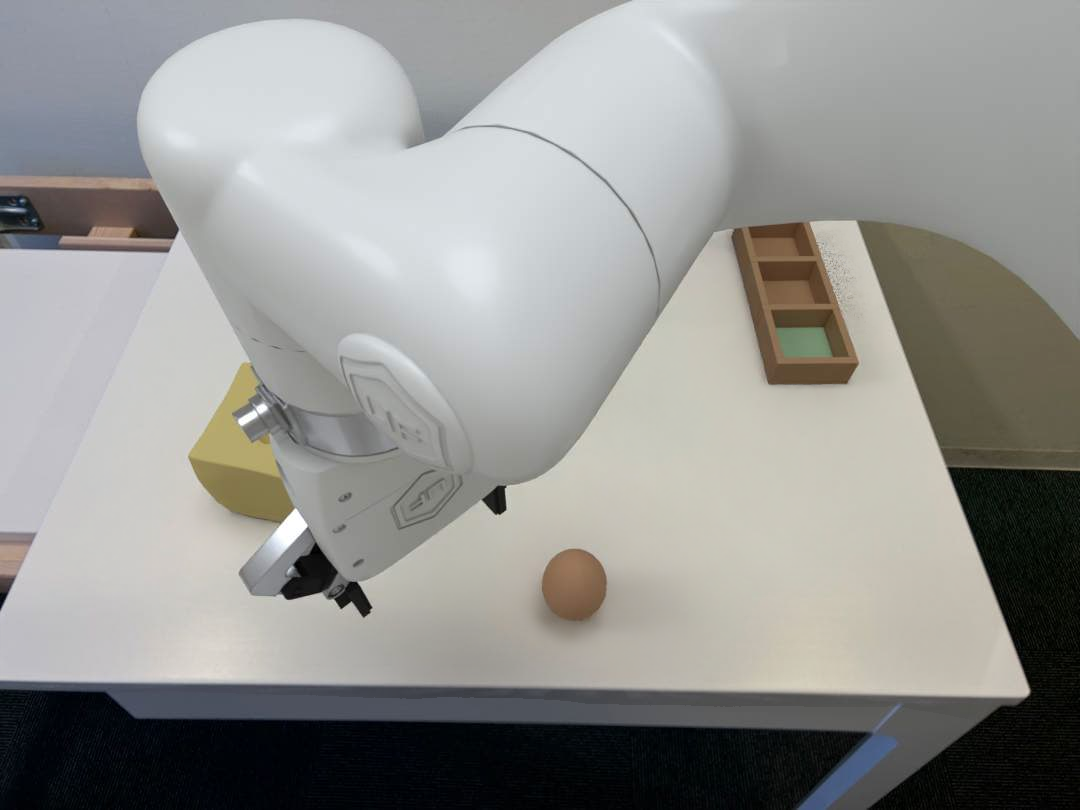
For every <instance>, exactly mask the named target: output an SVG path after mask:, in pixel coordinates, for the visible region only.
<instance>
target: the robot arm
mask: <svg viewBox="0 0 1080 810" xmlns="http://www.w3.org/2000/svg"><path fill="white" fill-rule="evenodd" d="M419 107H420V106H419V103H418V98H417V95H416V92H415V89H414V87H413V84H412V82H411V80H410V79H409V77H408V75H407V73H406V72H405V70H404V69H403V66H402V65H401V64H400V62H399V61H398V60H397V59H396V58H395V57H394V56H393V54H391V53H390V52H389V50H388V49H387V48H385V47H384V46H383V44H381V43H380V42H378V41H376V40H375V39H373V38H372V37H370V36H369V35H366V34H364V33H362V32H360V31H357V30H355V29H353V28H351V27H348V26H346V25H342V24H338V23H335V22H331V21H325V20H319V19H313V18H312V19H309V18H282V19H266V20H258V21H253V22H247V23H243V24H239V25H235V26H230V27H227V28H224V29H221V30H217V31H215V32H213V33H210V34H207V35H205V36H202V37H201V38H198V39H196V40H194V41H192V42H190V43H189V44H187V45H185V46H184V47H182V48H180V49H178V50H176V52H175V53H173V54H172V55H171V56H170V57H168V58H167V59H166V60H165V61H164V62H163V63H162V64H161V65H160V66H159V68H158V69H156V70H155V72H154V73H153V74H152V76H151V77H150V78H149V80H148V81H147V83H146V85H145V87H144V89H143V90H142V92H141V96H140V100H139V104H138V110H137V114H136V131H137V132H136V133H137V139H138V145H139V149H140V152H141V156H142V159H143V161H144V162H145V163H144V164H145V166H146V168H147V171H148V173H149V174H150V176H151V178H152V180H153V183H154V185H155V187H156V189H157V191H158V193H159V194H160V196H161V199H162V200H163V203H164V204H165V206H166V208H167V209H168V211H169V213H170V215H171V217H172V218H173V220H174V223H175V224H176V226H177V228H178V230H179V232H180V233H181V236H182V237H183V239H184V241H185V243H186V245H187V247H188V248H189V250H190V252H191V254H192V256H193V258H194V260H195V262H196V264H197V266H198V267H199V269H200V270H201V273H202V274H203V277H204V278H205V280H206V282H207V284H208V286H209V287H210V289H211V291H212V293H213V295H214V296H215V298H216V301H217V303H218V304H219V306H220V308H221V310H222V312H223V314H224V316H225V317H226V319H227V321H228V322H229V325H230V326H231V328H232V330H233V332H234V335H235V336H236V338H237V339H238V342H239V343H240V345H241V347H242V349H243V351H244V353H245V355H246V357H247V358H248V359H249V363H251V364H252V366H250V368H251V370H252V372H253V374H254V376H255V377H256V379H257V381H258V383H259V385H258V386H256V387H255V388H254V389H255V393H256V395H254V396H253V397H251V398H249V399H248V402H249V403H248V404H246V405H245V406H243V407H241V408H239V409H238V410H236V411H234V412H232V413H231V414H232V416H233V417H234V419H235V420H236V422H237V423H238V425H239V426H240V428H241V429H242V431H243V432H244V434H245V435H246V436H247V438H248V439H249V440H250V442H251V443H253V442H255V441H257V440H258V439H260V438H262V437H263V436H265V435H267V434H268V433H269V437H270V442H271V447H272V451H273V455H274V458H275V462H276V465H277V468H278V470H279V473H280V476H281V478H282V481H283V483H284V486H285V488H286V490H287V493H288V495H289V497H290V499H291V501H292V504H293V506H294V508H295V509H294V510H293V512H292V513H291V514H290V515H289V516H288V517H287V518H286V519H285V520H284V521H283V522H281V523H280V524H279V526H278V527H277V528H276V529H275V530H274V531H273V532H272V534H270V536H269V537H267V539H266V540H265V542H263V544H261V546H260V547H259V548H258V549H257V550H256V551H255V552H254V553H253V554H252V555H251V557H250V558H249V559H248V560H247V561H246V562H245V564H243V566H242V567H241V568H240V570H239V571H238V576H239V578H240V579H241V581H242V582H243V584H244V586H245V587H246V589H247V590H248V592H249V594H250V595H251V596H253V597H277V596H278V595H279V596H283V598H284V600H286V601H292V600H296V599H301V598H305V597H309V596H313V595H318V594H322V595H323V596H324V598H325V599H326V600H328V601H331V600H334V602H335V603H336V604H337V606H338V607H339V609H340V610H342V609H344V608H345V607H347V606H348V605H349V604H351V603H352V604H353V606H354V607H355V609H356V610H357V611H358V613H359V615H360V616H361V617H362V618H363V619H365V618H366V617H367V616H368V615H369V614H370V615H371V613H372V611H371V610H372V609H373V606H372V604H371V602H370V600H369V599H368V596H367V595H366V594H365V591H364V590H363V588H362V587H361V585H360V584H359V582H363V581H367V580H370V579H372V578H374V577H377V576H378V575H379V574H381V573H383V572H384V571H386V570H387V569H389V568H390V567H392V566H393V565H395V564H396V563H398V562H399V561H400V560H402V559H403V558H405V557H406V556H407V555H409V554H411V552H413V551H414V550H416V549H417V548H419V547H420V546H421V545H423V544H424V543H425V542H427V541H428V540H430V539H431V538H433V537H434V536H435V535H437V534H438V533H439V532H440V531H442V530H443V529H444V528H446V527H447V526H449V525H450V524H451V523H453V522H454V521H456V520H457V519H458V518H459V517H461V516H462V515H464V514H465V513H466V512H467V511H469V510H470V509H472V508H473V507H474V506H475V505H477V504H479V502H481V501H482V502H483V504H484V505H485V506H486V507H487V508H488V509H489V510H490V511H491V513H493V515H495V516H497V515H498V516H501V515H502V514H504V513H505V512H506V511H508V507H507V497H506V488H508V486H516V485H520V484H523V483H528V482H530V481H532V480H536V479H537V478H539V477H541V476H543V475H545V474H546V473H547V472H549V471H550V470H552V469H553V468H554V467H555V466H557V464H559V463H560V462H561V461H562V460H564V458H565V457H566V456H567V454H568V453H569V452H570V450H571V449H572V448H573V447H574V446H575V444H576V443H577V442H578V441H579V440H580V438H581V437H582V436H583V434H584V433H585V432H586V431H587V429H588V428H589V426H590V425H591V423H592V422H593V420H594V418H595V416H596V415H597V414H598V413H599V411H600V409H601V408H602V406H603V404H604V403H605V402H606V400H607V398H608V397H609V395H610V393H611V392H612V390H613V389H614V387H615V386H616V385H617V383H618V381H619V379H620V378H621V376H622V375H623V373H624V372H625V370H626V369H627V367H628V366H629V364H630V362H631V361H632V360H633V357H634V356H635V355H636V353H637V352H638V351H639V348H640V347H641V346H642V344H643V342H644V341H645V340H646V337H648V334H649V333H650V332H651V330H652V329H653V327H654V325H655V324H656V322H657V321H658V320H659V317H660V316H661V314H662V313H663V311H664V310H665V308H666V307H667V305H668V304H669V302H670V301H671V299H672V297H673V296H674V294H675V293H676V291H677V290H678V288H679V286H680V285H681V283H682V282H683V281H684V279H685V277H686V276H687V274H688V272H689V271H690V269H691V268H692V267H693V265H694V263H695V261H696V260H697V259H698V258H699V255H700V254H701V253H702V251H703V250H704V248H706V246H707V244H708V243H709V242H710V239H711V238H712V237H713V235H714V233H718V232H722V231H727V230H734V229H735V228H743V227H752V226H764V225H775V224H787V223H799V222H810V223H812V222H813V223H814V222H826V221H827V222H831V221H832V222H833V221H834V222H835V221H836V222H837V221H844V222H845V221H853V222H854V221H862V222H872V223H873V222H874V223H883V224H894V225H898V226H904V227H908V228H915V229H919V230H924V231H927V232H931V233H933V234H937V235H940V236H943V237H945V238H948V239H951V240H954V241H957V242H959V243H962V244H964V245H966V246H968V247H969V248H972V249H974V250H976V251H978V252H979V253H981V254H983V255H986V256H987V257H989V258H991V259H993V260H994V261H996V262H997V263H998V264H999V265H1001V266H1003V267H1004V268H1005V269H1007V270H1008V271H1010V272H1011V273H1013V274H1014V275H1016V277H1018V278H1019V279H1020V280H1021V281H1022V282H1024V284H1026V285H1027V286H1028V287H1029V288H1030V289H1032V291H1034V292H1035V293H1036V294H1037V295H1038V296H1039V297H1040V298H1041V299H1042V300H1043V301H1044V302H1045V303H1046V304H1047V305H1048V306H1049V307H1050V308H1051V310H1052V311H1053V312H1054V313H1055V314H1056V315H1057V316H1058V317H1059V319H1060V320H1061V322H1063V323H1064V324H1065V325H1066V327H1067V328H1068V329H1069V331H1071V333H1072V334H1073V335H1074V336H1075V337H1076V338H1077V340H1078V341H1079V342H1080V0H630V1H627V2H625V3H622V4H619V5H617V6H614V7H612V8H609V9H607V10H605V11H602V12H600V13H598V14H596V15H595V16H592V17H590V18H588V19H586V20H584V21H581V22H580V23H579V24H577V25H575V26H574V27H572V28H570V29H569V30H566V31H565V32H564V33H562V34H561V35H559V36H558V37H556V38H555V39H553V40H551V42H549V43H548V44H547V45H545V46H544V47H543V48H542V49H540V51H538V52H537V53H536V54H535V55H534V56H532V57H531V58H530V59H529V60H528V61H527V62H526V63H524V64H523V65H522V66H521V67H519V68H518V69H517V70H515V72H514V73H511V75H509V76H508V77H507V78H506V79H504V80H503V81H502V82H501V83H500V84H499V85H498V86H496V87H495V88H494V89H493V90H492V91H491V92H490V93H489V94H488V95H487V96H486V97H485V98H484V99H482V100H481V101H480V102H479V103H478V104H476V106H474V107H473V108H472V109H471V110H470V111H469V112H468V113H467V114H466V115H465V116H464V117H462V118H461V119H460V120H459V121H458V122H457V123H456V124H455V125H454V126H452V127H451V129H449V130H448V131H447V132H446V133H445V134H444V135H443V136H442V137H439V138H435V139H433V140H430V141H427V142H426V137H425V131H424V125H423V122H422V117H421V112H420V108H419Z"/></svg>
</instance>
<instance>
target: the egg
mask: <svg viewBox="0 0 1080 810" xmlns="http://www.w3.org/2000/svg"><path fill="white" fill-rule="evenodd" d="M607 588H608V581H607V574H606V571H605V568H604V566H603V565H602V563H601V562H600V560H599V559H597V557H596V556H595V555H594V554H592V553H591V552H589V551H587V550H586V549H581V548H568V549H565V550H562V551H560V552H559V553H557V554H555V556H553V557H552V558H551V559H550V560H549V562H548V563H547V565H546V567H545V569H544V571H543V574H542V579H541V592H542V596H543V599H544V602H545V604H546V606H547V607H548V609H549V610H550V611H551V612H552V613H553V614H554V615H556V616H557V617H558V618H561V619H563V620H566V621H572V622H576V621H578V622H579V621H584V620H586V619H588V618H590V617H592V616H593V615H594V614H595V613H596V612H597V611H599V609H600V608H601V606H602V604H603V603H604V601H605V598H606V595H607V590H608V589H607Z"/></svg>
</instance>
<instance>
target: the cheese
mask: <svg viewBox="0 0 1080 810" xmlns="http://www.w3.org/2000/svg"><path fill="white" fill-rule="evenodd" d="M250 366H252V364H251V362H242V363H241V364H240V366H239V368H238V369H237V372H236V374H235V376H234V377H233V380H232V383H231V384H230V387H229V388H228V390H227V392H226V394H225V396H224V397H223V399H222V401H221V403H220V405H219V406H218V408H217V409H216V411H215V413H214V414H213V416H212V417H211V419H210V421H209V422H208V424H207V426H206V427H205V429H204V430H203V432H202V434H201V435H200V437H199V438H198V439H197V442H196V443H195V444H194V446H193V447H192V448H191V450H190V452H189V453H188V455H187V458H188V460H189V463H190V465H191V467H192V470H193V472H194V474H195V476H196V478H197V480H198V481H199V483H200V484H201V485H202V487H203V488H204V489H205V490H206V492H207V493H208V494H209V495H210V496H211V497H212V498H213V499H214V501H216V502H217V503H218V504H219V505H221V506H222V507H224V508H225V509H227V510H228V511H230V512H233V513H235V514H240V515H244V516H248V517H252V518H258V519H263V520H268V521H272V522H278V523H283V521H284V520H285V519H286V518H287V517H288V516H289V515H290V514H291V513H292V512H293V510H294V509H295V508H294V506H293V504H292V501H291V499H290V497H289V495H288V493H287V490H286V488H285V486H284V483H283V481H282V478H281V476H280V473H279V470H278V468H277V465H276V462H275V458H274V455H273V451H272V447H271V442H270V437H269V433H268V434H267V435H265V436H263V437H262V438H260V439H258V440H257V441H255V442H253V443H251V442H250V440H249V439H248V438H247V436H246V435H245V434H244V432H243V431H242V429H241V428H240V426H239V425H238V423H237V422H236V420H235V419H234V417H233V416H232V414H231V413H232V412H234V411H236V410H238V409H239V408H241V407H243V406H245V405H246V404H248V403H249V402H248V399H249V398H251V397H253V396H254V395H256V393H255V389H254V388H255V387H256V386H258V385H259V383H258V381H257V379H256V377H255V376H254V374H253V372H252V370H251V368H250Z"/></svg>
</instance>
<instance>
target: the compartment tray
mask: <svg viewBox="0 0 1080 810" xmlns="http://www.w3.org/2000/svg"><path fill="white" fill-rule="evenodd" d="M732 230H733V231H732V234H731V239H732V243H733V247H734V251H735V256H736V259H737V263H738V267H739V271H740V275H741V279H742V283H743V287H744V291H745V296H746V300H747V303H748V307H749V311H750V315H751V319H752V323H753V327H754V331H755V335H756V339H757V342H758V347H759V351H760V355H761V359H762V363H763V367H764V371H765V376H766V379H767V383H768V385H844V384H845V385H846V384H848V383H849V382H850V381H851V378H852V376H853V374H854V373H855V371H856V369H857V367H858V366H859V364H860V361H859V358H858V355H857V353H856V350H855V347H854V344H853V341H852V339H851V335H850V332H849V329H848V328H847V324H846V321H845V318H844V316H843V314H842V311H841V308H840V305H839V301H838V299H837V296H836V293H835V290H834V287H833V284H832V282H831V280H830V276H829V273H828V271H827V268H826V265H825V262H824V260H823V256H822V253H821V251H820V248H819V245H818V243H817V240H816V236H815V234H814V231H813V229H812V225H811V222H799V223H787V224H775V225H764V226H752V227H743V228H735V229H732Z"/></svg>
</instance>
